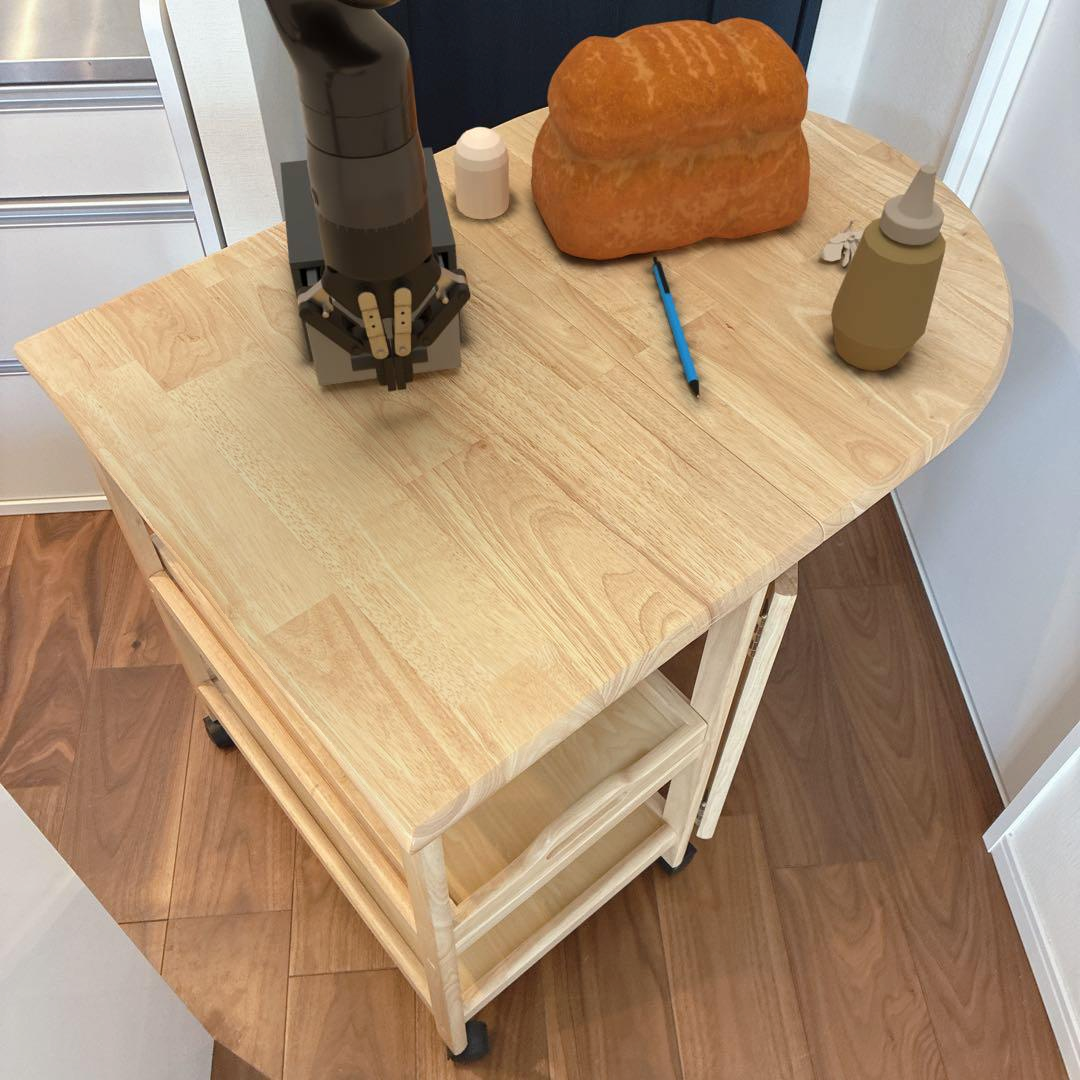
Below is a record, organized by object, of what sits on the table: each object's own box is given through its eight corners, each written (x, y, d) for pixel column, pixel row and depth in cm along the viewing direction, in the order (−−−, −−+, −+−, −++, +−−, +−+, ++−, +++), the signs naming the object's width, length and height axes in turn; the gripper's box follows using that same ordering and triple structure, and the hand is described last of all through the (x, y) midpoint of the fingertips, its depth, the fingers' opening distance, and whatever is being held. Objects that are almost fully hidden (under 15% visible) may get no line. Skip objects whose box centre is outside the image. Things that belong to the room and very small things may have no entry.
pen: (658, 261, 101) (659, 251, 100) (702, 400, 90) (704, 391, 89) (649, 262, 101) (650, 252, 100) (692, 401, 89) (694, 392, 89)
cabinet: (461, 341, 94) (455, 244, 86) (310, 360, 92) (289, 262, 84) (439, 244, 103) (431, 146, 95) (300, 259, 101) (280, 162, 93)
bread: (816, 232, 105) (860, 63, 91) (564, 276, 100) (570, 104, 86) (753, 147, 114) (784, -19, 100) (519, 183, 109) (519, 15, 96)
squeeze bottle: (924, 338, 95) (994, 157, 81) (899, 393, 91) (968, 212, 76) (838, 309, 97) (891, 129, 83) (809, 362, 93) (860, 180, 79)
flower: (909, 288, 101) (919, 268, 99) (831, 299, 100) (839, 279, 97) (881, 230, 104) (890, 210, 102) (805, 240, 103) (812, 219, 101)
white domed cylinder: (520, 202, 107) (519, 130, 101) (483, 226, 105) (480, 153, 98) (482, 182, 109) (479, 109, 103) (445, 204, 107) (440, 131, 100)
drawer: (469, 402, 88) (465, 321, 81) (322, 422, 87) (305, 341, 80) (439, 271, 99) (433, 189, 92) (308, 286, 97) (292, 204, 90)
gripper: (461, 149, 73) (471, 342, 86) (266, 169, 71) (308, 362, 85) (478, 213, 68) (486, 405, 82) (271, 235, 67) (314, 428, 80)
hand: (395, 383), depth 83 cm, fingers closed
